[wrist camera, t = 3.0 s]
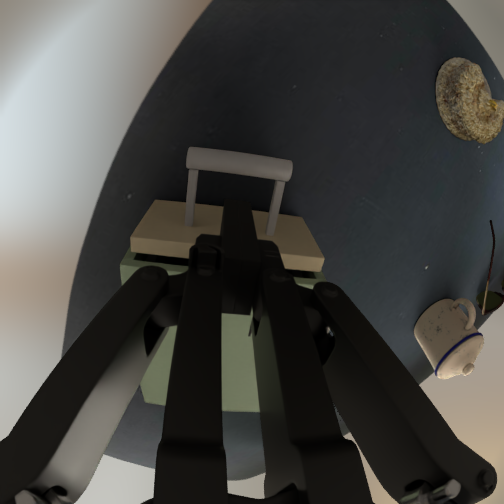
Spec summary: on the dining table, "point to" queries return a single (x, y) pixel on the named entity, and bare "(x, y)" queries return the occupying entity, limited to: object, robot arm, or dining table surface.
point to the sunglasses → (488, 298)
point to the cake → (467, 101)
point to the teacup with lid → (449, 337)
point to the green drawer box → (233, 347)
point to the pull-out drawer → (210, 217)
